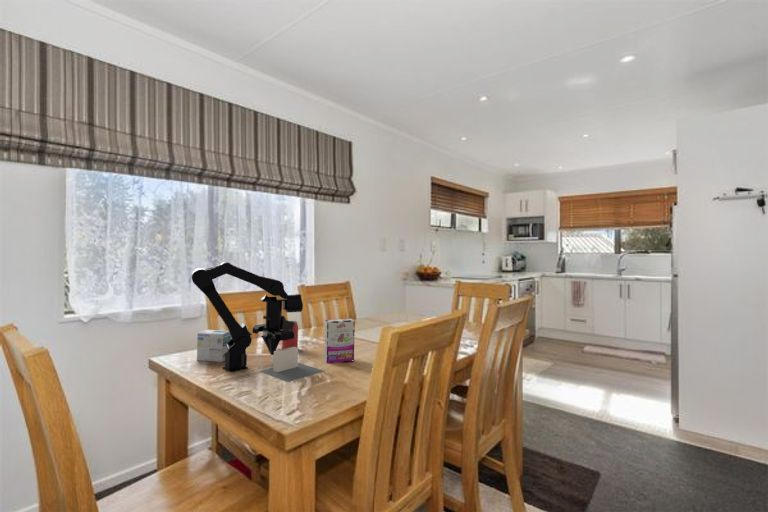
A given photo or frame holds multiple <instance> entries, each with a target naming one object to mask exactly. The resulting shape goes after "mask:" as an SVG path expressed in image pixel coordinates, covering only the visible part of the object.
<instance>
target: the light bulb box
mask: <svg viewBox="0 0 768 512" xmlns="http://www.w3.org/2000/svg"><path fill="white" fill-rule="evenodd" d="M196 335H197V337H196V338H197V340H196V341H197V343H196V347H197V349H196V361H202V362H218V363H219V362H220V363H223V362H225V352H228V349H227V347H226V344H227V343H228V342H229V341H230V340H231V339H232V337H231V335H230V332H229V330H222V329H221V330H218V329H217V330H216V329H215V330H213V329H204V330H201V331H198V332H197V334H196Z"/></svg>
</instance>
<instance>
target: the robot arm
mask: <svg viewBox="0 0 768 512" xmlns="http://www.w3.org/2000/svg"><path fill="white" fill-rule="evenodd" d="M224 275H229V276H231V277H234V278H237V279H239V280H240V281H244V282H246V283H250V284H252V285H254V286H257V287H258V288H259V289H262V290H263V291H265V292H266V293H268V294H270V296H268V295H267V294H264V295H263V296H262V297H261V298H260V301H261V302H264V303H265V315H263V317H262V319H263V320H265V323H261V324H256V325H254V326H253V327H252V333H253V334H256V335H257V334H259V333H260V332H262V335H261V336H260V337H261V338H262V339H263V342H264V343H265V345H266V347H267V349H268V352H269V353H270V355H271V356H274V351H277V349H278V347H279V344H280V342H282V341H283V340H288V339H294V338H295V332H294V331H292V330H293V327H294V324H295V323H294V322H291V321H292V320H287V319H286V317H285V316H284V315H282V314H283V311H285V313H301V312H302V311H303V308H304V303H303V299H302V294H300V293H297V294H288V293H287V292H286V290H285V285H284V283H283V282H282V281H280V280H277V279H275V278H270V277H266V276H265V277H264V276H260V275H258V274H255V273H252V272H251V271H248V270H246V269H243V268H240V267H238V266H236V265H233V264H231V263H230V262H226V261H224V262H221V263H220V264H216V265H213V266H210V267H207V268H202V267H201V268H199V267H198V268H196V269H195V270H193V271H192V273H191V281H192V283H193V284H194V285H195V286H196V287H197V288H198V289H199V291H201V292H202V293H203V294H204V295H205V296H206V297H207V299H208V301H209V302H210V303H211V305H212V306H213V308H214V309H215V311H216V312H217V314H218V315H219V316H220V318H221V320H222V321H223V323H224V324H225V325H226V328H227V331H229V332H230V335H231V340H230V341H229V342H228V343H227V344H226V347H227V349H228V352H225V361H224V366H222V369H223V370H225V371H227V372H229V373H235V372H239V371H242V370H247V369H249V367H248V366H247V361H248V359H247V358H248V356H247V348H249V347H250V346H251V344H252V337H251V336H252V333H251V332H250V330H248V327H247V325H246V324H245V323H244V322H242V323H241V324H240V323H239V322H238V321H237V320H236V317H234V316H233V314H232V311H230V309H229V308H228V306H227V305H226V303H225V301H224V299H222V297H221V296H220V293H219V292H218V291H217V288H216V286H215V283H214V281H213V280H215V279H217V278H219V277H221V276H224ZM277 296H278V297H279V298H277ZM285 329H286V330H285ZM288 329H290V330H288Z"/></svg>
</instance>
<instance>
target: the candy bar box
mask: <svg viewBox="0 0 768 512" xmlns="http://www.w3.org/2000/svg"><path fill="white" fill-rule="evenodd" d="M355 324H356V322H355V319H354V318H339V319H337V318H335V319H332V318H331V319H324V349H323V350H324V356H323V357H324V358H323V359H324V362H325V363H326V364H333V363H334V362H337V363H344V362H343V361H352V360H354V361H355Z"/></svg>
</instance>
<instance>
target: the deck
mask: <svg viewBox="0 0 768 512" xmlns="http://www.w3.org/2000/svg"><path fill="white" fill-rule="evenodd" d="M298 363H299V347H298V348H297V347H291V348H286V349H282V348H281V349H279V350H277V349H276V351H274V355H273V364H272V368H273V371H275V372H280V371H284V370H287V369H291V368H295V367H298Z"/></svg>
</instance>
